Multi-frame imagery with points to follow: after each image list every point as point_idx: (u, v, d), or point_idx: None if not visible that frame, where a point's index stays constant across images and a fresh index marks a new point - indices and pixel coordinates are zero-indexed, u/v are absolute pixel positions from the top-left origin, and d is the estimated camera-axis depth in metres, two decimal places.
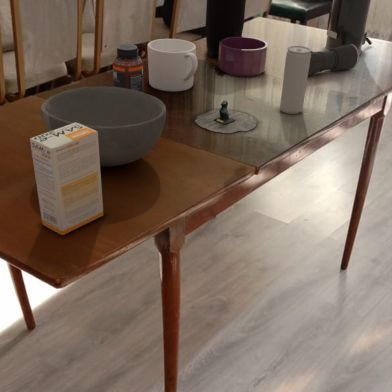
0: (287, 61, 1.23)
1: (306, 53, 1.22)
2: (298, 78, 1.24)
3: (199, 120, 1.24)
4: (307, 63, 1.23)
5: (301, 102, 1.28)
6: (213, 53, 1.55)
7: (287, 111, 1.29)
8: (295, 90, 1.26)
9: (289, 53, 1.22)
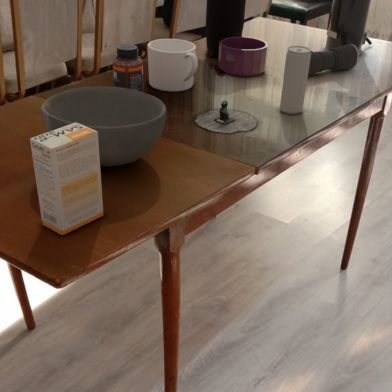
0: (287, 61, 1.23)
1: (306, 53, 1.22)
2: (298, 78, 1.24)
3: (199, 120, 1.24)
4: (307, 63, 1.23)
5: (301, 102, 1.28)
6: (213, 53, 1.55)
7: (287, 111, 1.29)
8: (295, 90, 1.26)
9: (289, 53, 1.22)
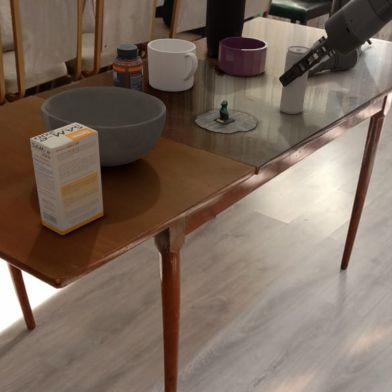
0: (287, 61, 1.23)
1: None
2: (298, 78, 1.24)
3: (199, 120, 1.24)
4: None
5: (301, 102, 1.28)
6: (213, 53, 1.55)
7: (287, 111, 1.29)
8: (295, 90, 1.26)
9: (289, 53, 1.22)
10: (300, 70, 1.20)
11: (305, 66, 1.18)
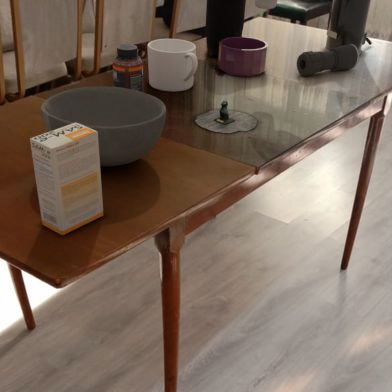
0: None
1: None
2: None
3: (199, 120, 1.24)
4: None
5: None
6: (213, 53, 1.55)
7: (261, 6, 1.31)
8: None
9: None
10: None
11: None
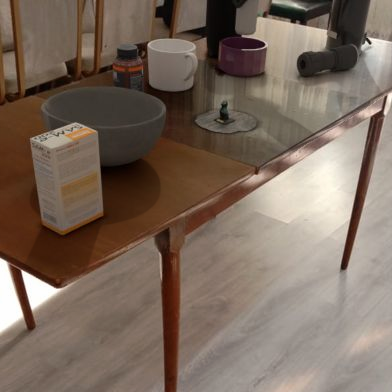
0: None
1: None
2: (249, 0, 1.38)
3: (199, 120, 1.24)
4: None
5: (253, 24, 1.42)
6: (213, 53, 1.55)
7: (241, 32, 1.42)
8: (247, 12, 1.39)
9: None
10: None
11: None
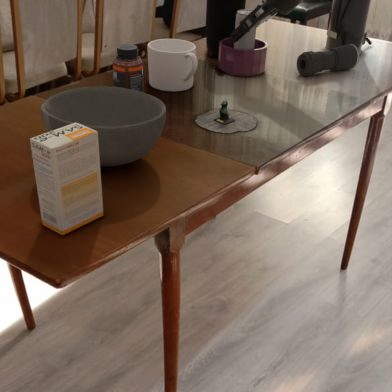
0: (236, 22, 1.42)
1: None
2: (246, 38, 1.43)
3: (199, 120, 1.24)
4: None
5: None
6: (213, 53, 1.55)
7: None
8: (244, 48, 1.44)
9: (238, 15, 1.41)
10: (246, 26, 1.37)
11: (252, 21, 1.36)
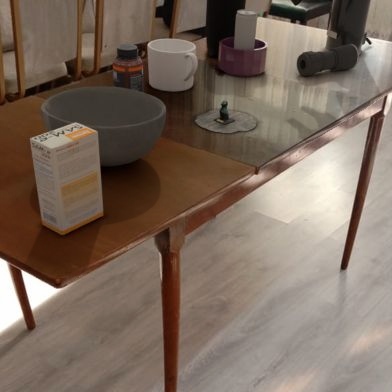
0: (236, 22, 1.42)
1: (252, 15, 1.40)
2: (246, 38, 1.43)
3: (199, 120, 1.24)
4: (254, 24, 1.42)
5: None
6: (213, 53, 1.55)
7: None
8: (244, 48, 1.44)
9: (238, 15, 1.41)
10: None
11: None
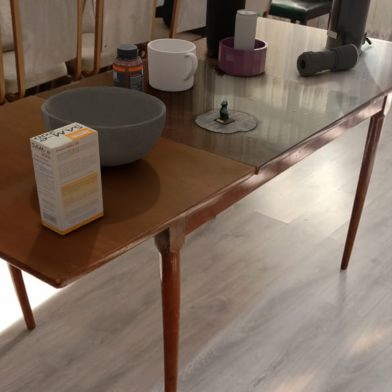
0: (236, 22, 1.42)
1: (252, 15, 1.40)
2: (246, 38, 1.43)
3: (199, 120, 1.24)
4: (254, 24, 1.42)
5: None
6: (213, 53, 1.55)
7: None
8: (244, 48, 1.44)
9: (238, 15, 1.41)
10: None
11: None
